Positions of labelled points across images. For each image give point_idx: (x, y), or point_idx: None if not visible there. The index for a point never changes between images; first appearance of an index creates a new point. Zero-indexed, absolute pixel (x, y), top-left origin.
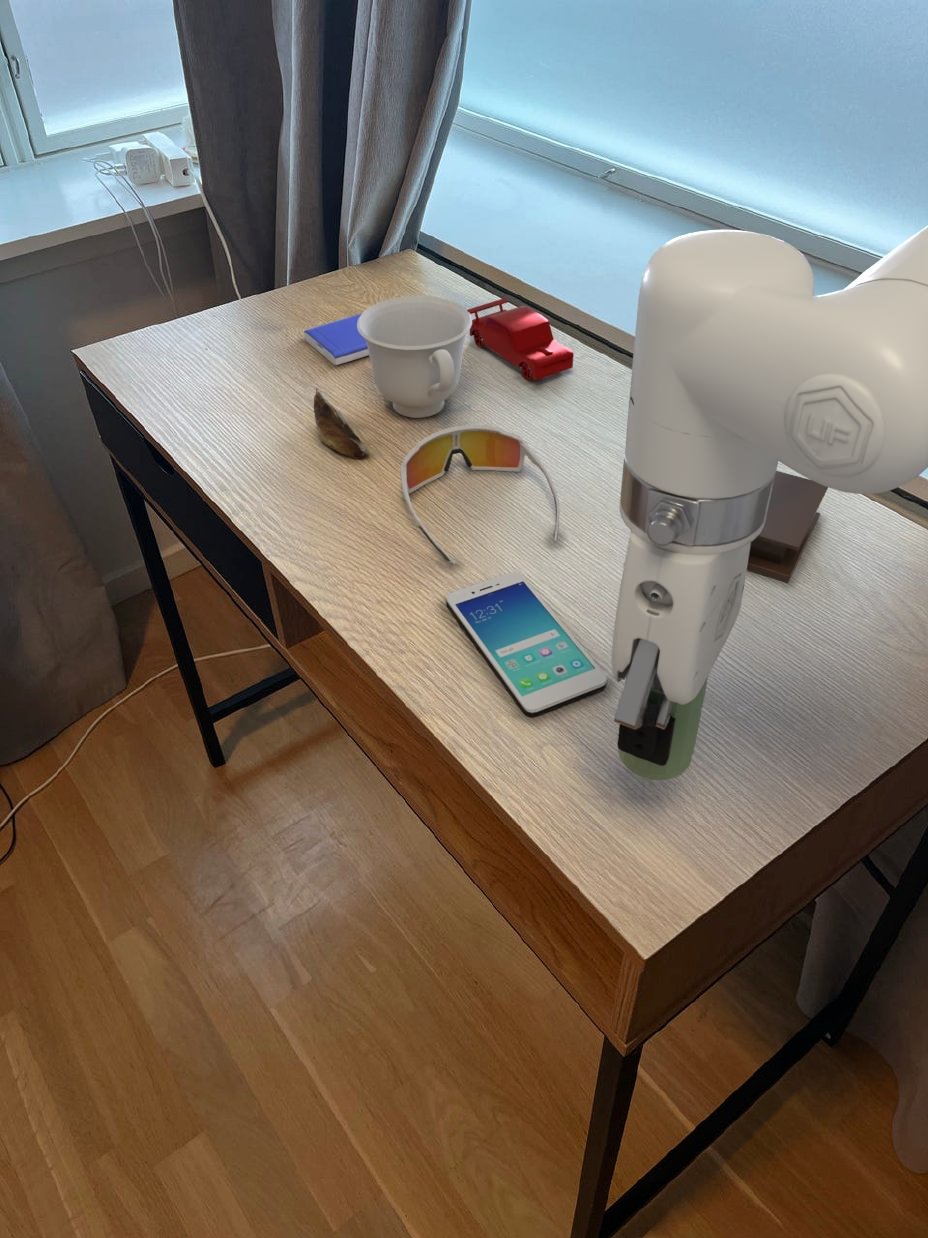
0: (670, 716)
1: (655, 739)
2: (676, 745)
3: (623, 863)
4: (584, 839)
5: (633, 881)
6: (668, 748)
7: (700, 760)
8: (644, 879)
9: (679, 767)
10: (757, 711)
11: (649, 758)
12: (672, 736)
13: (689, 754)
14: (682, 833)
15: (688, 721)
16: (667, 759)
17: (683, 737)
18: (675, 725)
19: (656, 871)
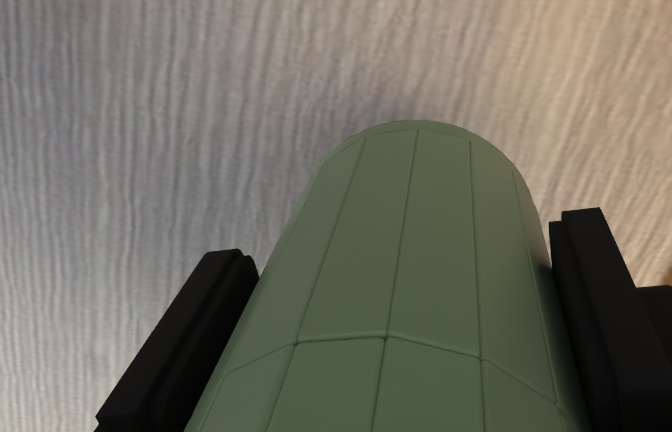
0: (626, 419)
1: (668, 349)
2: (497, 223)
3: (622, 89)
4: (607, 196)
5: (661, 41)
6: (621, 262)
7: (228, 99)
8: (640, 22)
9: (467, 145)
10: (7, 65)
11: (669, 286)
12: (597, 295)
13: (417, 149)
14: (450, 19)
15: (466, 281)
16: (589, 217)
17: (479, 230)
18: (531, 318)
19: (599, 10)
